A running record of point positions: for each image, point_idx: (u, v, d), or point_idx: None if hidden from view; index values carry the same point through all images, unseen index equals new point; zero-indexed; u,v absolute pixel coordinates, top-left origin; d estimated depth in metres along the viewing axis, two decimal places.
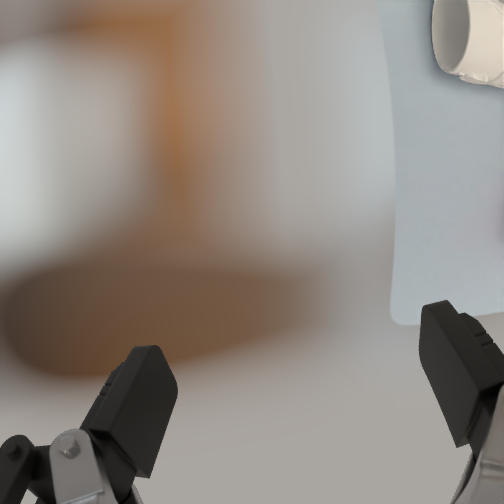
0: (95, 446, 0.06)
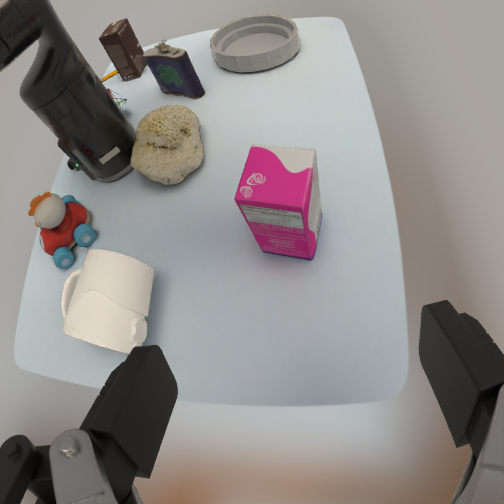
0: (95, 446, 0.06)
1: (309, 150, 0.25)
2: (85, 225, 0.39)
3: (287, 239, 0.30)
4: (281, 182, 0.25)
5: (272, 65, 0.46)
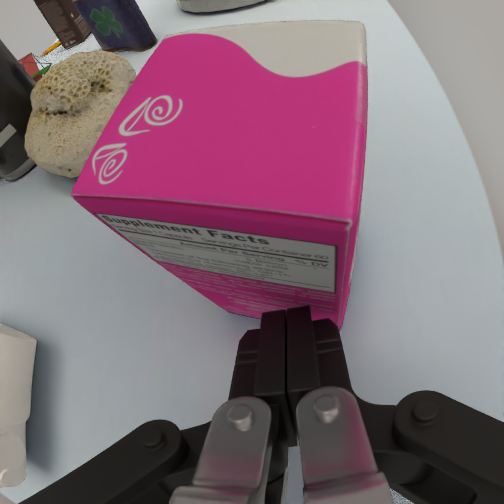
0: None
1: (345, 23, 0.06)
2: None
3: (279, 304, 0.11)
4: (245, 111, 0.05)
5: None
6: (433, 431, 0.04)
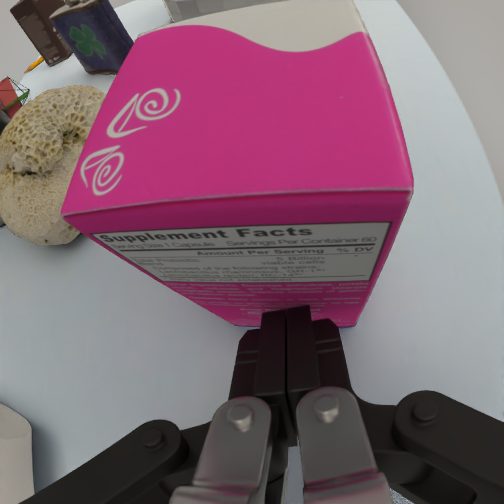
0: None
1: None
2: None
3: None
4: (258, 90, 0.05)
5: None
6: (433, 431, 0.04)
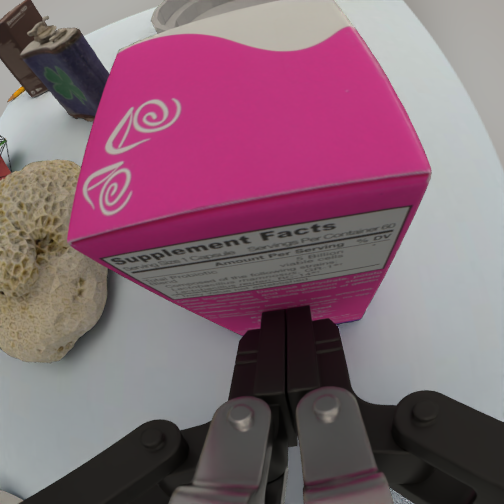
0: None
1: None
2: None
3: (311, 306, 0.10)
4: (262, 91, 0.05)
5: None
6: (433, 431, 0.04)
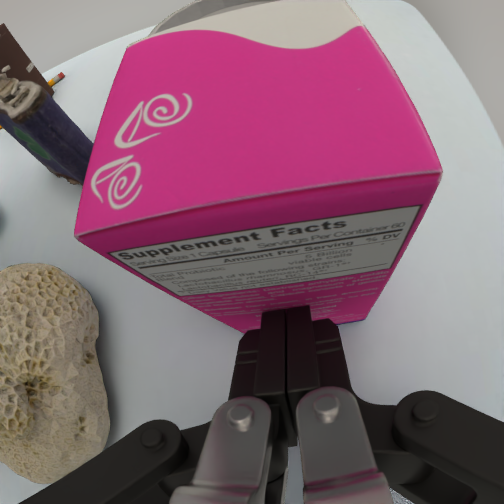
0: None
1: None
2: None
3: (316, 305, 0.10)
4: (274, 88, 0.05)
5: None
6: (433, 431, 0.04)
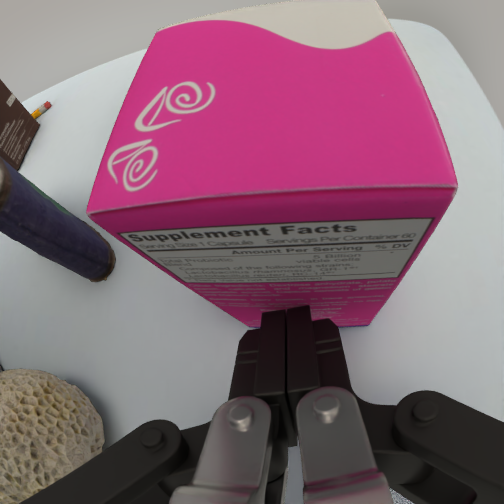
0: None
1: None
2: None
3: (321, 305, 0.10)
4: (298, 85, 0.05)
5: None
6: (433, 431, 0.04)
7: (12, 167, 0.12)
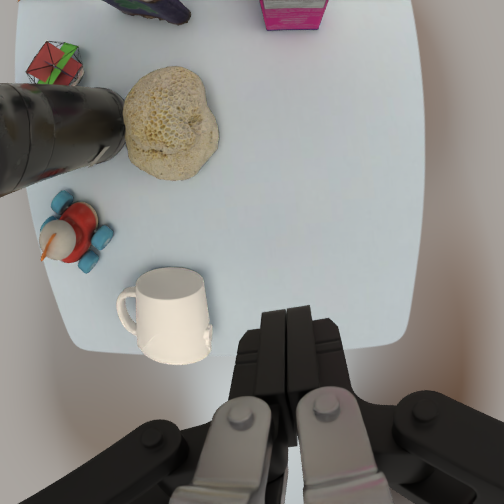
0: None
1: None
2: (101, 232, 0.36)
3: (300, 17, 0.24)
4: None
5: None
6: (433, 431, 0.04)
7: None
